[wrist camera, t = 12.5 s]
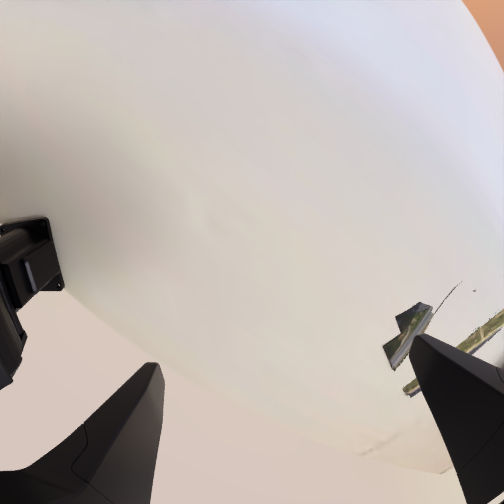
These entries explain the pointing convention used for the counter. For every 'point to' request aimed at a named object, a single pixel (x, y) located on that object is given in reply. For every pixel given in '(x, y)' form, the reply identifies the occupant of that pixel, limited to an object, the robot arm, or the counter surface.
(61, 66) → the counter surface
